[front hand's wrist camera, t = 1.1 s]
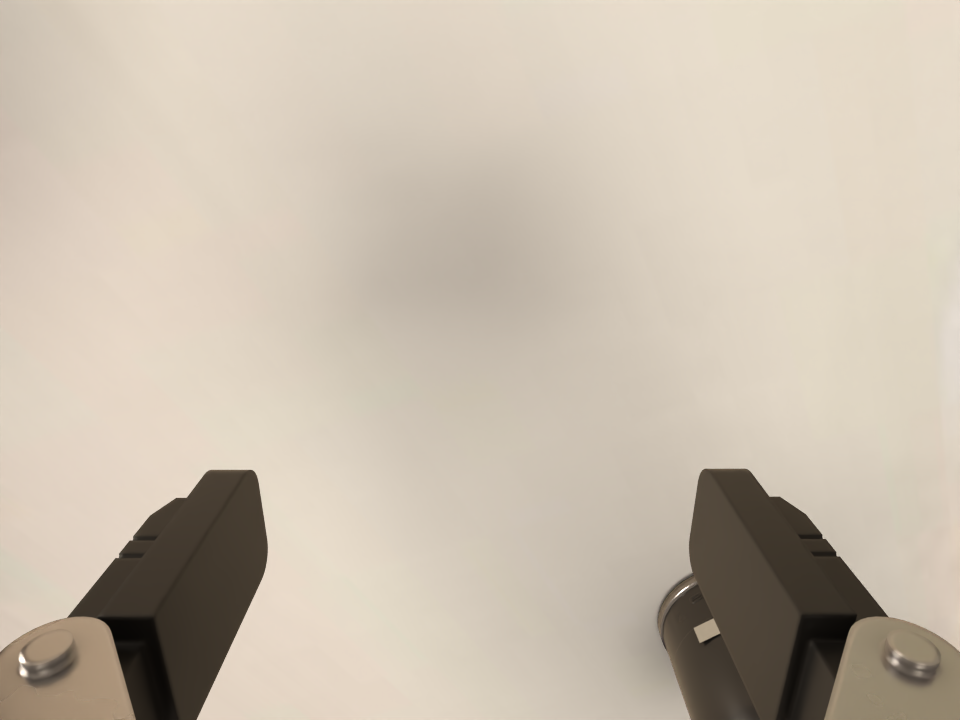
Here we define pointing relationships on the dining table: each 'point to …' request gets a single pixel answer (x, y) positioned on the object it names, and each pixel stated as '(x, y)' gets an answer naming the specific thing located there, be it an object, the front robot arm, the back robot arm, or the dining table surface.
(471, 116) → the dining table surface
